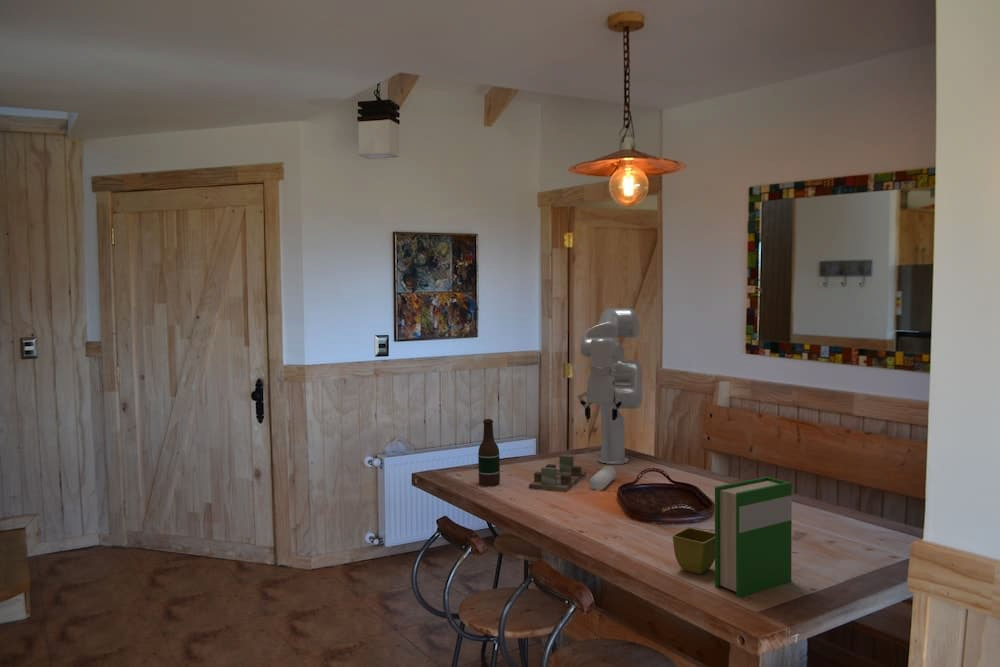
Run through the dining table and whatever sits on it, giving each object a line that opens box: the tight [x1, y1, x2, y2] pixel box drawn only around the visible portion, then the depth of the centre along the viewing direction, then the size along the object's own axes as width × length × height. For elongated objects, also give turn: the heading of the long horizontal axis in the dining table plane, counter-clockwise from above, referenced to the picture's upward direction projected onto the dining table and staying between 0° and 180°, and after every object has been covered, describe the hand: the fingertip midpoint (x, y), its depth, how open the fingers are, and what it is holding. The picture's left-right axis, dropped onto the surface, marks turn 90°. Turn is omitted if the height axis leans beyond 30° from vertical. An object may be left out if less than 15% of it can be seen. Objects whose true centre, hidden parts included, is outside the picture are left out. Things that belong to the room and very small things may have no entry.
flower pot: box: [672, 527, 715, 575], centre depth 190 cm, size 9×9×9 cm
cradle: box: [528, 454, 587, 493], centre depth 281 cm, size 25×14×8 cm, turn 158°
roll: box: [589, 464, 617, 491], centre depth 275 cm, size 16×6×6 cm, turn 158°
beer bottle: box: [477, 418, 501, 487], centre depth 279 cm, size 8×8×24 cm
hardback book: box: [714, 476, 793, 599], centre depth 180 cm, size 18×7×24 cm, turn 120°
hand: (601, 419), depth 277 cm, fingers open, 9 cm apart
